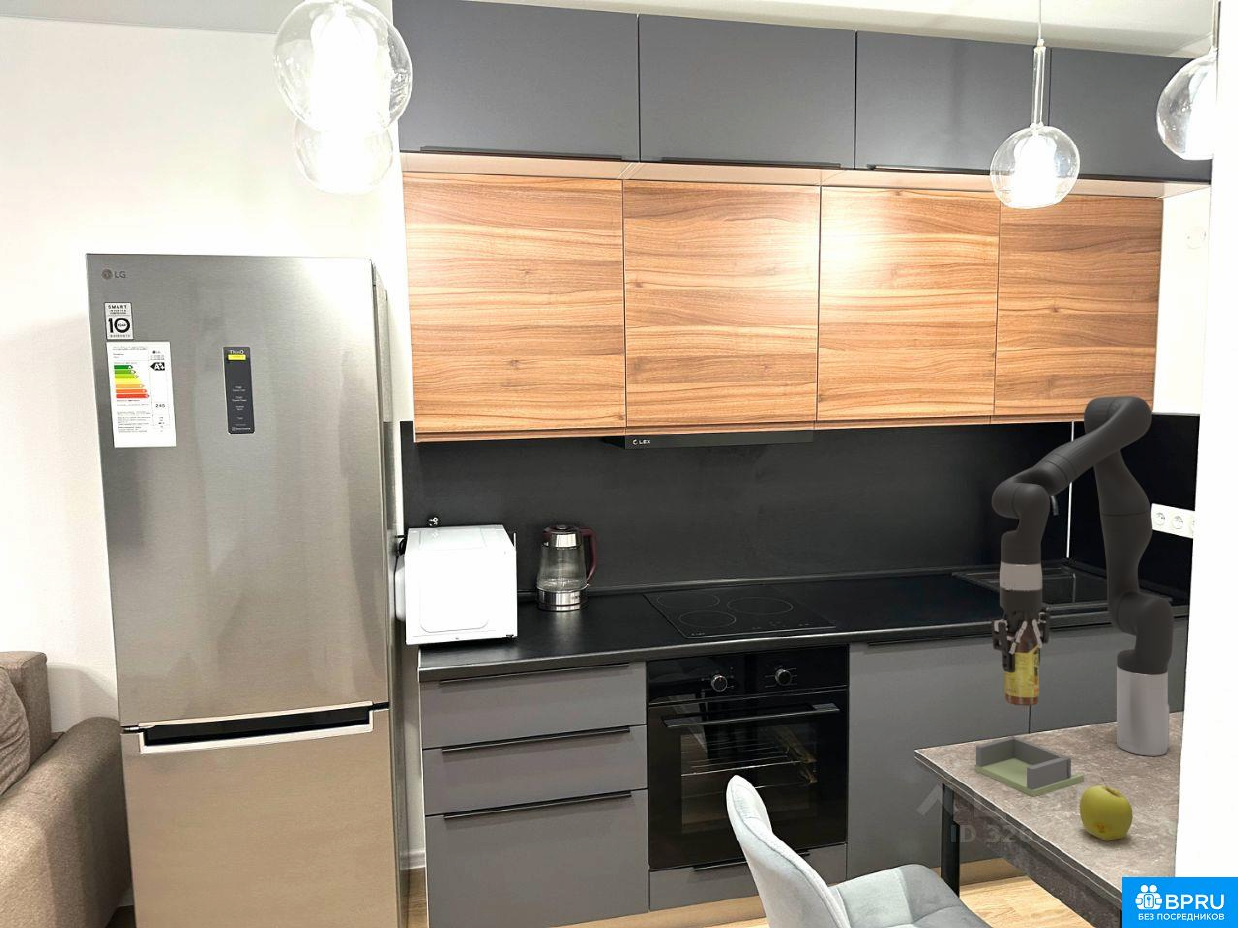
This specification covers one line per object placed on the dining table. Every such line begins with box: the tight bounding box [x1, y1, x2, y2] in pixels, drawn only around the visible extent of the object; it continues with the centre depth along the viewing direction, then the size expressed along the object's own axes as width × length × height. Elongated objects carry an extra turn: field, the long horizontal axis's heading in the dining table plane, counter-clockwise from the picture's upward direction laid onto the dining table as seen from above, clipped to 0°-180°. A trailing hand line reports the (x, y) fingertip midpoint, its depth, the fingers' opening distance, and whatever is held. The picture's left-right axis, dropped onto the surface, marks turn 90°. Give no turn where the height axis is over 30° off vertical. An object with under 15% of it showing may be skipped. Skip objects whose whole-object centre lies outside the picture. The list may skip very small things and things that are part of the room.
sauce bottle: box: [1003, 612, 1040, 707], centre depth 173 cm, size 6×6×20 cm
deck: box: [974, 735, 1085, 797], centre depth 175 cm, size 14×14×5 cm
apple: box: [1079, 777, 1133, 841], centre depth 151 cm, size 8×8×10 cm
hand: (1021, 668), depth 173 cm, fingers closed on sauce bottle, 6 cm apart
